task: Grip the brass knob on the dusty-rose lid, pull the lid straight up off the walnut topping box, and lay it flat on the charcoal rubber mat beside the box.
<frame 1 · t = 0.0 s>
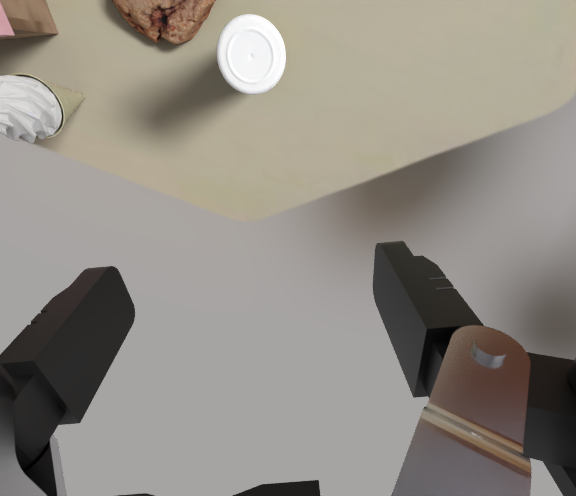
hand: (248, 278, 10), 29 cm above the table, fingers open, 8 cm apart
sprinkles bottle: (260, 56, 32), on the table
ice cream cone: (83, 96, 34), on the table
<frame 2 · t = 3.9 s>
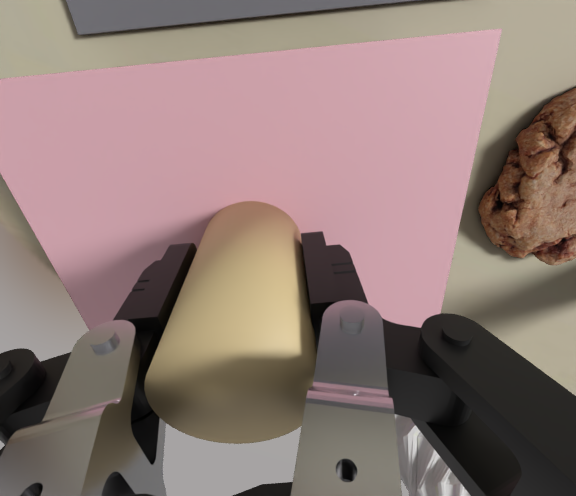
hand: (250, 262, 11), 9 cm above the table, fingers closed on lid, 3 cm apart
cookie: (552, 176, 20), on the table
ice cream cone: (370, 304, 24), on the table
lid: (256, 220, 14), point 6 cm above the table, touching gripper, topping box
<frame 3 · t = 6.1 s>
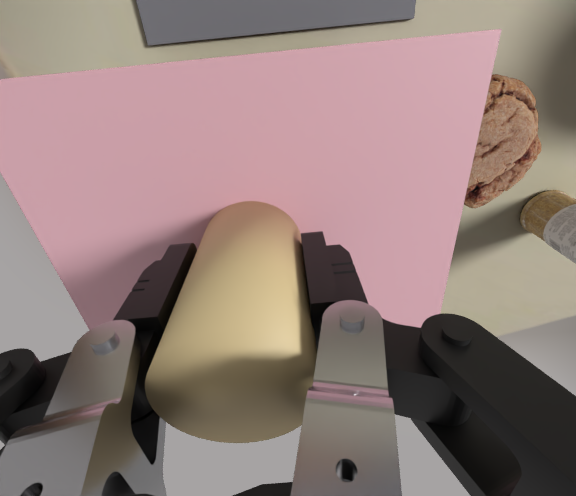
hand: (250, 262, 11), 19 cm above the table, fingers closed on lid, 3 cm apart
cookie: (471, 143, 28), on the table
sprinkles bottle: (540, 209, 31), on the table
lid: (256, 220, 14), point 15 cm above the table, touching gripper
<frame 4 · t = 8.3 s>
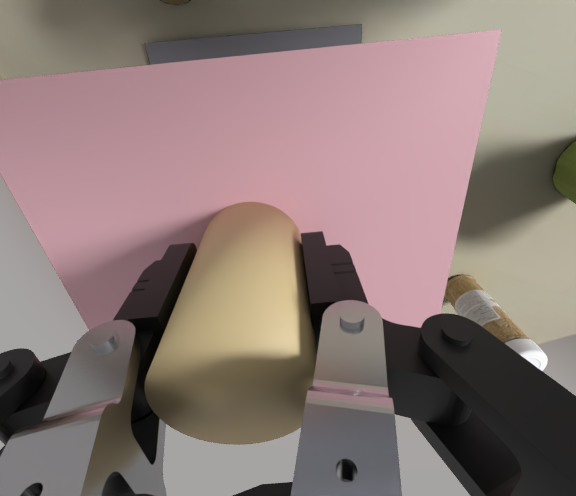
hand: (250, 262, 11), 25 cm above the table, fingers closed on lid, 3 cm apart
sprinkles bottle: (457, 285, 44), on the table
mat: (262, 118, 32), on the table
lid: (256, 220, 14), point 21 cm above the table, touching gripper
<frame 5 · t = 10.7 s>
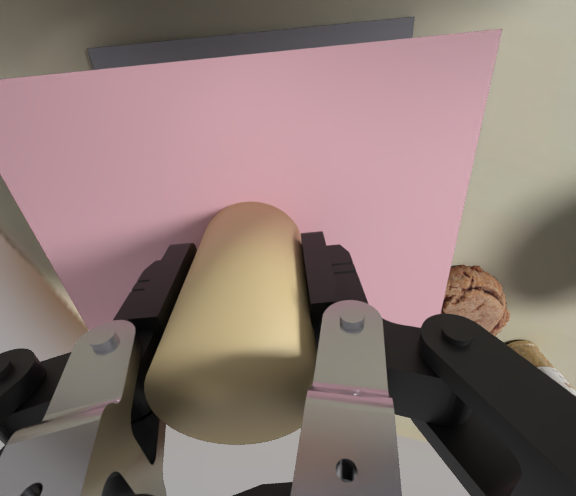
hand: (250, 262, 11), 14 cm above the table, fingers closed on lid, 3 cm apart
cookie: (447, 306, 31), on the table
sprinkles bottle: (511, 351, 34), on the table
mat: (263, 152, 22), on the table
lid: (256, 220, 14), point 10 cm above the table, touching gripper
when the fingers open (5 cm above the table, at t = 12.7 s): lid drops 1 cm, resting on mat.
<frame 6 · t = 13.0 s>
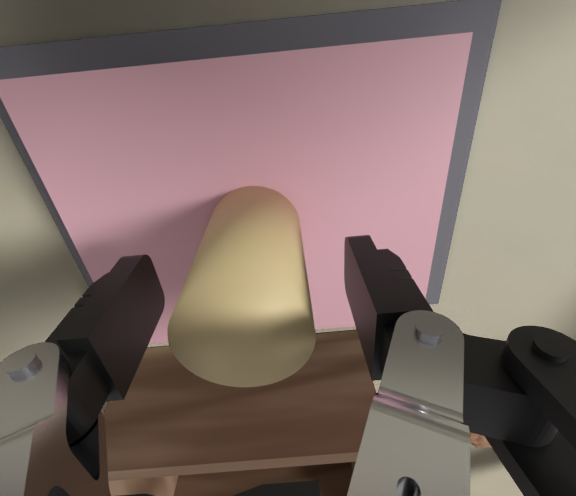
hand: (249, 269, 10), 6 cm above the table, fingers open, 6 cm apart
topping box: (257, 393, 23), on the table
mat: (257, 203, 15), on the table
lid: (258, 206, 15), resting on mat
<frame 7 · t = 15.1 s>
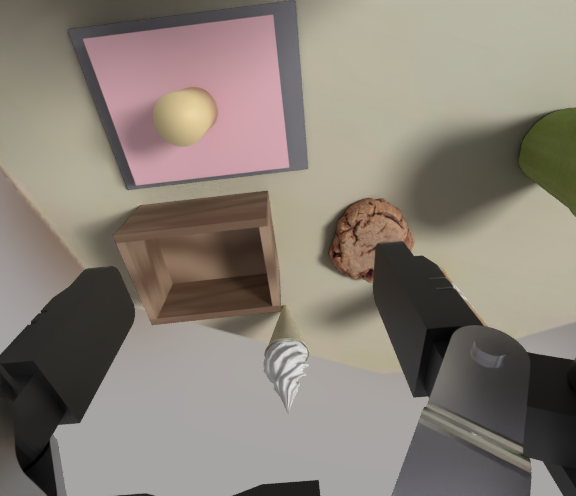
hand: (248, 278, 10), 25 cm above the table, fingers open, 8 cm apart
cookie: (366, 237, 39), on the table
plant pot: (550, 143, 33), on the table
topping box: (215, 241, 37), on the table
ice cream cone: (284, 305, 43), on the table
mat: (202, 106, 30), on the table
lid: (201, 106, 30), resting on mat
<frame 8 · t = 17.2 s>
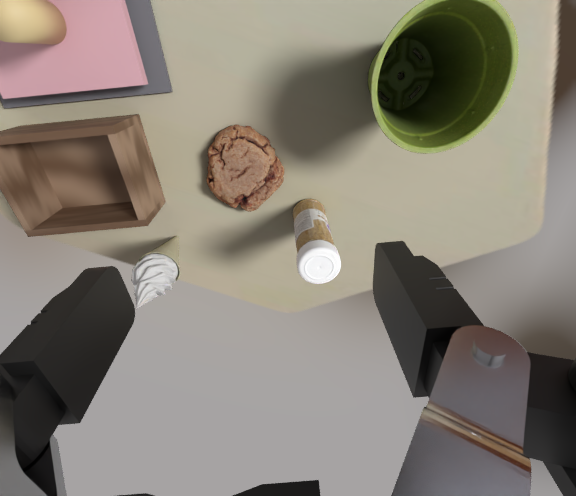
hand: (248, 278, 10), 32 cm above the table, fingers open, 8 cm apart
cookie: (243, 167, 41), on the table
plant pot: (397, 74, 36), on the table
topping box: (98, 166, 40), on the table
sprinkles bottle: (308, 212, 44), on the table
ice cream cone: (176, 236, 46), on the table
mat: (61, 24, 32), on the table
lid: (59, 24, 32), resting on mat
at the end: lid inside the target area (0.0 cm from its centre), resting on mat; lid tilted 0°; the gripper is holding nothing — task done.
